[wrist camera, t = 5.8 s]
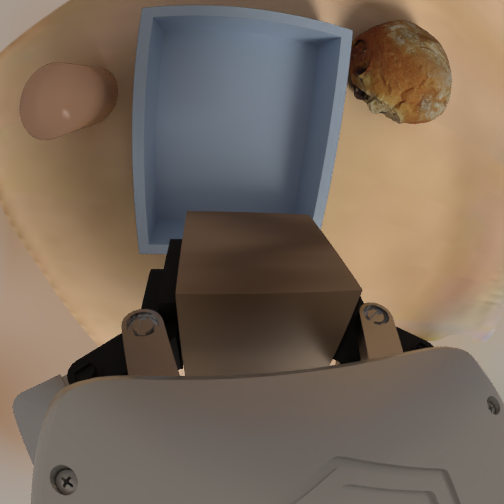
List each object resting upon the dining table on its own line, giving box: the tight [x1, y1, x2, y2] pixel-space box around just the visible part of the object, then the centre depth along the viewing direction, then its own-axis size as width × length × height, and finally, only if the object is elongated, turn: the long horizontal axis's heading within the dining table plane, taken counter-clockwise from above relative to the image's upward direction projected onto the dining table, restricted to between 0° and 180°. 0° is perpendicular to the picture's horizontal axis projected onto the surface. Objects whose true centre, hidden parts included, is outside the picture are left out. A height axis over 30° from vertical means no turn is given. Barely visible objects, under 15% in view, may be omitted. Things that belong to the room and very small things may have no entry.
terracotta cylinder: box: [20, 62, 118, 140], centre depth 15 cm, size 5×5×7 cm
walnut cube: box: [175, 211, 362, 376], centre depth 10 cm, size 5×5×5 cm
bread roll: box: [349, 20, 452, 124], centre depth 18 cm, size 10×10×8 cm
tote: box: [132, 5, 353, 254], centre depth 19 cm, size 18×14×5 cm
